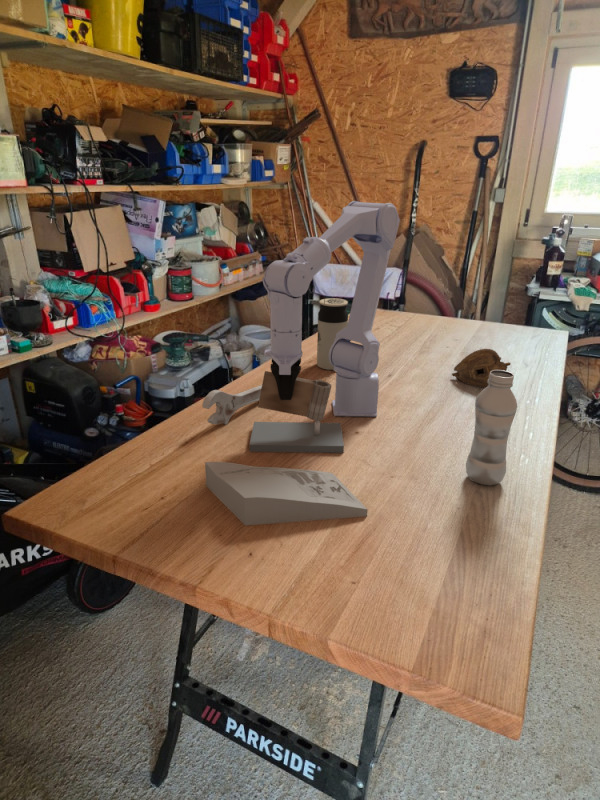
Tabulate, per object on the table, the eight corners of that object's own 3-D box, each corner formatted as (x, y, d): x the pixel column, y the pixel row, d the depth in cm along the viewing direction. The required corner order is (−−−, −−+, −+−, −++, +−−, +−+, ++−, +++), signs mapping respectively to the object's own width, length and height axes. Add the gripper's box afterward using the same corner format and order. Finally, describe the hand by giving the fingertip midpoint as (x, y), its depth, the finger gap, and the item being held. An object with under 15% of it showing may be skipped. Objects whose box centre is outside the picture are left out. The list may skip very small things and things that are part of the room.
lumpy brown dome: (442, 359, 134) (503, 347, 126) (463, 334, 153) (517, 322, 145) (452, 396, 136) (513, 386, 128) (471, 367, 156) (525, 357, 147)
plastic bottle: (498, 494, 89) (520, 384, 81) (458, 482, 92) (475, 375, 84) (507, 477, 94) (528, 371, 86) (469, 466, 97) (485, 364, 89)
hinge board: (340, 429, 111) (341, 409, 109) (343, 452, 101) (344, 431, 100) (254, 428, 111) (253, 408, 109) (249, 451, 101) (249, 430, 100)
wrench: (288, 400, 132) (208, 433, 107) (281, 398, 133) (201, 431, 108) (290, 368, 129) (208, 395, 105) (284, 367, 130) (201, 393, 105)
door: (257, 409, 101) (263, 375, 99) (258, 401, 105) (265, 369, 102) (323, 422, 102) (331, 389, 100) (322, 414, 106) (330, 382, 103)
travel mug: (346, 362, 149) (350, 298, 142) (344, 371, 142) (347, 305, 135) (318, 360, 150) (320, 297, 143) (314, 369, 143) (316, 304, 136)
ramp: (374, 489, 91) (376, 462, 89) (361, 548, 77) (363, 517, 74) (221, 467, 97) (220, 441, 95) (183, 517, 83) (180, 488, 81)
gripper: (266, 318, 103) (267, 382, 109) (261, 339, 90) (262, 412, 96) (302, 318, 103) (301, 383, 109) (302, 340, 90) (301, 412, 96)
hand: (286, 396), depth 102 cm, fingers closed on door, 2 cm apart
